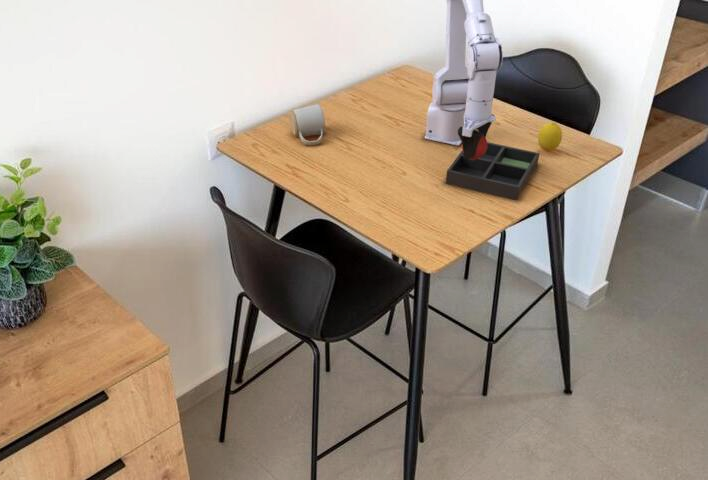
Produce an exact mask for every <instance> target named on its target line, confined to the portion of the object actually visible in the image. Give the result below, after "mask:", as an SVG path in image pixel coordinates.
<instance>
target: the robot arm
mask: <svg viewBox="0 0 708 480" xmlns="http://www.w3.org/2000/svg"><path fill="white" fill-rule="evenodd" d="M445 27H446V29H445V30H446V31H445V34H446V35H445V65H444V66H443V67H442V68H441V69H440V70H438V71H437V72H435V74H434V76H433V83H432V87H431V88H432V91H431V92H432V93H431V94H432V95H431V96H432V101H431V102H430V104H429V107H428V109H427V114H426V123H425V124H426V125H425V136H424V139H425V140H428V141H429V140H430V141H434V142H439V143H444V144H447V145H452V146H457V147H458V146H460V145H461V147H462V146H463V152H464V157H467V158H471V159H473V158H474V156H475V153H476V149H477V146H478V143H479V141H480V139H481V137H482V136H483V135H484V136H485V138H486V139H487V135H488V132H489V129H490V127H491V125H492V123H495V121H496V120H497V116H496V115H495V114H492V113H493V112H492V109H493V102H494V94H495V86H496V80H497V73H498V70H501V68H502V66H503V61H504V50H503V45H502V43H501V41H499V38H498V37H496V36H495V31H494V27H493V22H492V18H491V15H490V14H488V13H486V12H485V7H484V0H446V26H445ZM467 46H468V50H467V57H466V49H467V48H466V47H467ZM466 58H467V60H466ZM466 61H467V66H466ZM476 129H477V130H479V132H477V130H476Z"/></svg>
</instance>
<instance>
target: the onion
mask: <svg viewBox="0 0 708 480" xmlns="http://www.w3.org/2000/svg"><path fill="white" fill-rule="evenodd" d="M476 130H477V129H476ZM477 132H479V130H477ZM487 142H488V140H487V137H486V138H485V136H484V135H483V136H482V137H481V139H480V141H479V143H478V146H477V149H476V153H475V156H474V158H473V159H471V158H470V160H472V161H474V160H476V159H478V158H480V157H481V156H483V155H484V154H485V153H486V150H487V147H488V144H487ZM461 151H463V146H462V145H461ZM463 153H464V152H463Z"/></svg>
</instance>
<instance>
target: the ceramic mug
mask: <svg viewBox="0 0 708 480" xmlns="http://www.w3.org/2000/svg"><path fill="white" fill-rule="evenodd" d="M289 124H290V128H291V132H292V134H293V136H294V137H296V138H299V139H300V140H301V142H302V143H303V144H305V145H306V146H316V145H318V144H320V143H321V142H322V140H323V135H324V134H325V132H326V120H325V115H324V110H323V108H322V106H321V104H320V103H315V104H312V105H307V106H304V107H299V108H295V109H293V110H291V111H290V112H289ZM318 135H320V136H319V137H318V139H316V140H307V139H306V138H305V137H309V136H310V137H311V136H318Z"/></svg>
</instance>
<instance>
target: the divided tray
mask: <svg viewBox="0 0 708 480" xmlns="http://www.w3.org/2000/svg"><path fill="white" fill-rule="evenodd" d="M487 144H488V147H487V150H486V153H485V154H484V155H483V156H481V157H480V158H478V159H476V160H474V161H472V160H470V158H467V157H464V153H463V151H462V150H461V151H460V153H459V154H458V155H457V157H456V158H455V159H454V161H453V162H452V164H450V166H449V168H448V169H447V170H446V177H445V184H446V185H450V186H454V187H459V188H463V189H467V190H471V191H476V192H479V193H485V194H488V195H493V196H497V197H501V198H504V199H509V200H513V201H518V200H519V198H520V196H521V195H522V194H523V191H524V190H525V188H526V186H527V185H528V183H529V181H530V179H531V177H532V176H533V174H534V172H535V171H536V169H537V167H538V165H539V159H540V154H541V153H540V152H537V151H531V150H527V149H522V148H518V147H513V146H507V145H503V144H498V143H494V142H489V141H487Z"/></svg>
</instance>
